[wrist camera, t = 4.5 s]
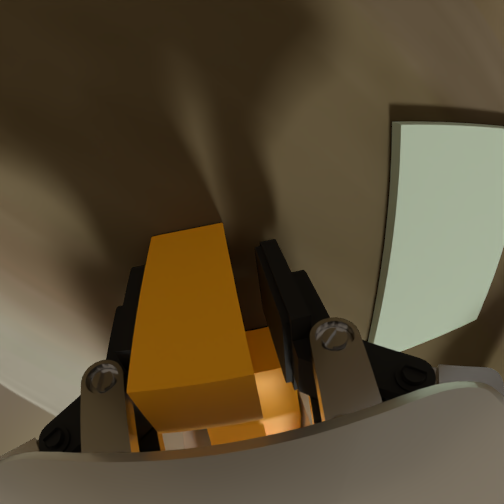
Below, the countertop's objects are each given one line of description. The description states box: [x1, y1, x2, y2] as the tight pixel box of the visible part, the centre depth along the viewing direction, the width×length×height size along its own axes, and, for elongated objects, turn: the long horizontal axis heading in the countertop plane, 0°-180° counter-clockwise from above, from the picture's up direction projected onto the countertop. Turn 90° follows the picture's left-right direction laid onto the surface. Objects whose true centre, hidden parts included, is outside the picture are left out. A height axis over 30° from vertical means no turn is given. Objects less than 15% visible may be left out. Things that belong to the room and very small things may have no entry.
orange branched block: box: [126, 223, 301, 445], centre depth 12 cm, size 12×4×6 cm, turn 7°
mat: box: [368, 121, 504, 352], centre depth 14 cm, size 9×13×1 cm
